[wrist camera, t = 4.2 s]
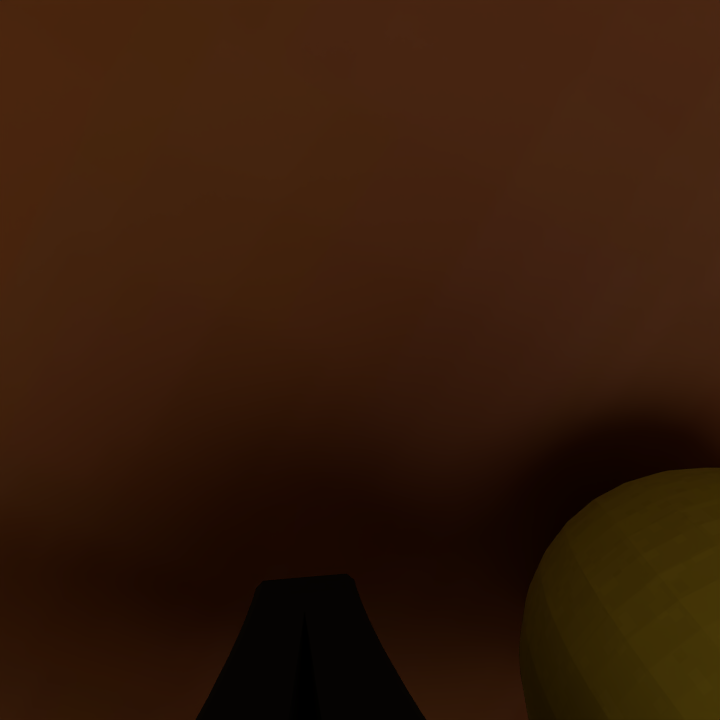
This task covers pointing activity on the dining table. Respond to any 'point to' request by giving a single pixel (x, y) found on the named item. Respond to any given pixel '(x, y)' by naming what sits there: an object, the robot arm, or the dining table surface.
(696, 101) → the dining table surface
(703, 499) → the lemon
